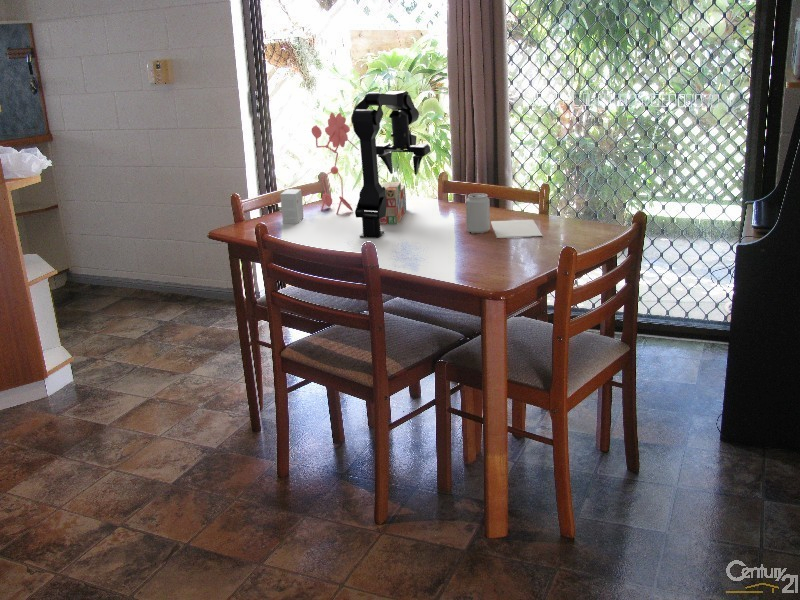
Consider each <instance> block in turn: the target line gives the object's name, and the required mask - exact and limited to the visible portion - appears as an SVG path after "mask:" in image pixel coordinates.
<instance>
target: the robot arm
mask: <svg viewBox="0 0 800 600" xmlns="http://www.w3.org/2000/svg"><path fill="white" fill-rule="evenodd" d="M371 106H372V107H373V106H374V107H375V106H376V107H377V109H369V107H371ZM383 106H385V107H386V108H387V109H391V113H390V114H389V116H388V118H389V119H390V120H391V121H390V122H391V133H390V137H392V144H391V143H388V142H380V143H378V144H377V143H376V138H377V135H378V133H379V131H380V128H381V125H380V124H381V122H382V119H383V116H384V111H383V108H382V107H383ZM419 117H420V113H419V110H418V109H417V107H415V105H414V102H413V100H412V97H411V95H410V94H409V92H408V91H407V90H389V91H387V92H386V93H381V92H368V93H365V95H364V98H363V99H362V100H361V101H360V102H359V103H358V104H356V106H355V107H354V109H353V112H352V114H351V120H350V121H351V124H352V128H353V131H354V133H355V135H356V136H357V138H358V139H359V144H360V156H361V166H362V167H361V169H362V180H363V185H362V187H361V189H360V192H359V198H358V202H357V205H356V207H355V210H354V214H355V218H361V221H362V223H361V224H362V233H361V234H360V235H359V238H366V239H367V238H370V239H379V238H380V237H381V236H383V234H385V231H381V224H380V219H381V218H382V217H384V216H386V207H387V199H386V193H385V187H384V186H381V185H382V184H380V181H379V179H380V178H379V167H378V165H379V164H378V158H380V159H381V160H382V162H383V163H384V165H385V166H386V168H387V170H388V172H389V174H391V175H393V173H394V168H393V160H392V156H393V153H413V155H414V156H413V157H412V161H413V162H412V163H413V171H414V172H413V173H414V175H415V176H417V175H418V173H419V170H420V169H419V168H420V165H421V161H422V160H423V158H424V157H426V156H427V155H428V154H430V153H431V146H430V145H429V144H428V143H427V144H426V143H418V144H417V135H414V134H412V131H411V130H410V125H412V124H413V123H415V122H417V121H418V119H419Z"/></svg>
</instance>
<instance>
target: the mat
mask: <svg viewBox="0 0 800 600" xmlns="http://www.w3.org/2000/svg"><path fill="white" fill-rule="evenodd" d="M490 226H491V227H492V229H493V232H494V234H495V237H496V239H497V238H507V239H515V238H514V237H530V236H542V237H543V233H541V230H540V229H539V226H538V225H537V224H536V222H535V221H534V219H518V220H517V219H516V220H515V219H514V220H512V219H511V220H490Z"/></svg>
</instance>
